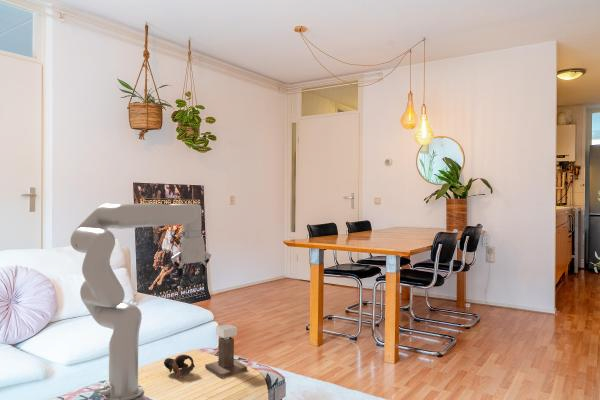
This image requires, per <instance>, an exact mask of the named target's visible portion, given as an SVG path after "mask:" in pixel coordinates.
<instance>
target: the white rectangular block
mask: <svg viewBox="0 0 600 400" xmlns="http://www.w3.org/2000/svg"><path fill="white" fill-rule="evenodd" d="M215 334H216V335H217V336H219V337H222V338H224V340H227V339H229V337H234V336H237V335H238V327H236V326H234V325H232V324H230V323H229V324H224V325H223V324H222V325H219V326H215Z"/></svg>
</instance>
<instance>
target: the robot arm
mask: <svg viewBox="0 0 600 400" xmlns="http://www.w3.org/2000/svg"><path fill="white" fill-rule="evenodd" d="M176 225H177V226H179V225H180V226H182V227H181V231H179V233H178V234H179V235H178V236H181V237H180V241H179V246H178V253H176V254H174V255H173V256H171V257H170V260H171V261H172V264H173V265H174V266H175V267H176V276H177V278H179V279H183V278H184V276H183V274H184V269H183V266H184V265H185V264H196V263H199V264H200V265H199V275H200V276H205V275H206V266H207V264H208V263H209V261H210V259H211V257H212V254H211V253H209V252H207V251H206V248H205V247H206V246H205V239H204V237H202V206H201V204H196V203H187V204H186V203H170V204H160V203H148V202H147V203H145V202H144V203H104V204H102V205H100V206H98V207H96V208H95V209H94V210H93V211H92V212H91V213H90V214H89V215H88V216H87V217H86V218H85V219H84V220H83V221H81V223H80V224H79V225H78V226H77V227H76V228H75V229H74V231H73V232H72V233H71V236H70V245H71V247H72V248H73V250H75V251H76V252H79V253H82V254H85V256H84V259H83V262H82V266H81V272H82V275H83V278H84V280H85V281H84V282H83V283H82V284H81V286H80V291H79V294H80V298H81V301H82V303H83V305H84V306H85V308H86V309H87V311H88V312H89V314H90V315H91V316H92V319H93V320H94V321H95V322H96V323H97V324H98V325H99V326H101V327H102V328H103V327H104V328H108V329H110V330H113V331H112V334H111V337H110V339H109V342H108V381H105V384H104V385H103V386H101V387H96V388H93V395H94V396H96V395H99V396H100V397H101V396H103V399H104V400H133V399H136V398H138V397H140V396H141V395H142V394H143V391H144V390H143V388H144V387H143V386H142V385H141V384H139V338H140V330H141V325H142V318H143V317H142V312H141V310H140V308H139V307H138V306H137V305H135V304H133V303H129V302H126V301H124V300H125V290H124V287H123V285H122V284H121V282H120V280H119V279H118V277H117V275H116V274H115V272H114V270H113V269H112V266H111V257H112V253H113V252H114V249H115V246H116V238H115V235H114V234H113V232H112V231H110V230H109V229H116V230H117V229H118V230H119V229H120V230H121V229H123V230H124V229H133V228H149V227H163V226H176ZM177 259H178V261H177Z"/></svg>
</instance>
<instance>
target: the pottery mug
mask: <svg viewBox="0 0 600 400" xmlns="http://www.w3.org/2000/svg"><path fill="white" fill-rule="evenodd" d="M186 360H189V361H190V362H191V363H190V365H189V364H188V363H185V361H186ZM163 365H164V367H165V369H167V370H169V373H172V371H173V372H176V375H175V378H176V379H178V378H179V379H181V377H185V376H187V375H188V374H190V373H191V372H193V370H194V368H196V366H195V363H194V359H193V357H192V356H190V355H189V354H179V355H178V356H176V357H175V358H171V357H167V358H166V359H164V361H163Z"/></svg>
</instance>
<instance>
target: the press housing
mask: <svg viewBox="0 0 600 400" xmlns="http://www.w3.org/2000/svg"><path fill="white" fill-rule="evenodd" d="M217 359H218V361H215V362H214V361H213V362H210V363H207V364H205V365H204V368H206V370H207V371H208V372H210V373H211V374H213V375H214V376H216V377H218V378H219V379H223V378H226V377H228V376H229V377H230V376H232V375H236V374H239V373H244V372H246V371H248V367H247V366H246V365H245V364H243V363H241V362H240V361H237V360H236V359H235V338H234V337H233V336H231V337H229V339H227V340H224V338H222V337H221V336H219V337H218V358H217Z"/></svg>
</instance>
